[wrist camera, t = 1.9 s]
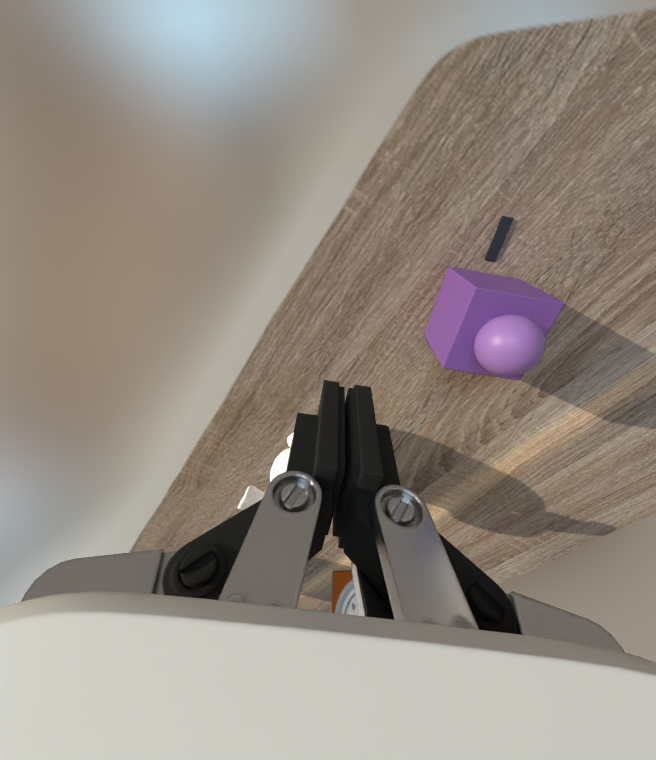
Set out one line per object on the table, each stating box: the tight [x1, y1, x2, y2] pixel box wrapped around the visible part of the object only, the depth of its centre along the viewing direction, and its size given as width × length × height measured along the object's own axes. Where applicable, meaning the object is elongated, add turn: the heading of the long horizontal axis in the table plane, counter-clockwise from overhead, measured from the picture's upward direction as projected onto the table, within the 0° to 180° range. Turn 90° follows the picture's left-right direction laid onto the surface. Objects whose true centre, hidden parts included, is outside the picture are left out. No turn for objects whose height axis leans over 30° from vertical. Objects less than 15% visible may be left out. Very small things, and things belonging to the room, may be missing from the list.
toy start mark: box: [485, 216, 513, 261], centre depth 23 cm, size 3×1×1 cm, turn 171°
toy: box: [424, 267, 565, 380], centre depth 22 cm, size 6×6×9 cm
